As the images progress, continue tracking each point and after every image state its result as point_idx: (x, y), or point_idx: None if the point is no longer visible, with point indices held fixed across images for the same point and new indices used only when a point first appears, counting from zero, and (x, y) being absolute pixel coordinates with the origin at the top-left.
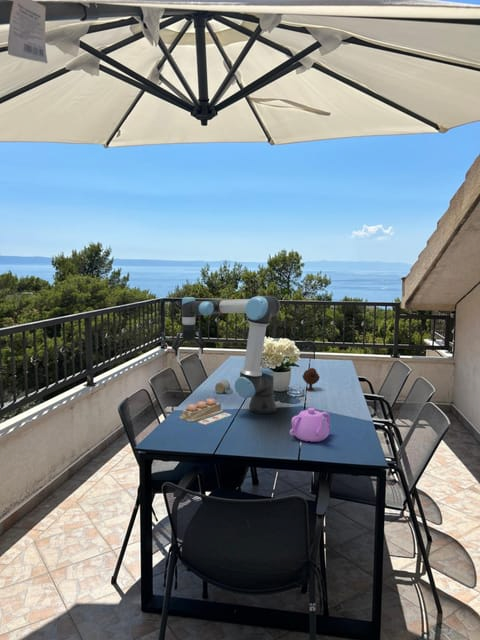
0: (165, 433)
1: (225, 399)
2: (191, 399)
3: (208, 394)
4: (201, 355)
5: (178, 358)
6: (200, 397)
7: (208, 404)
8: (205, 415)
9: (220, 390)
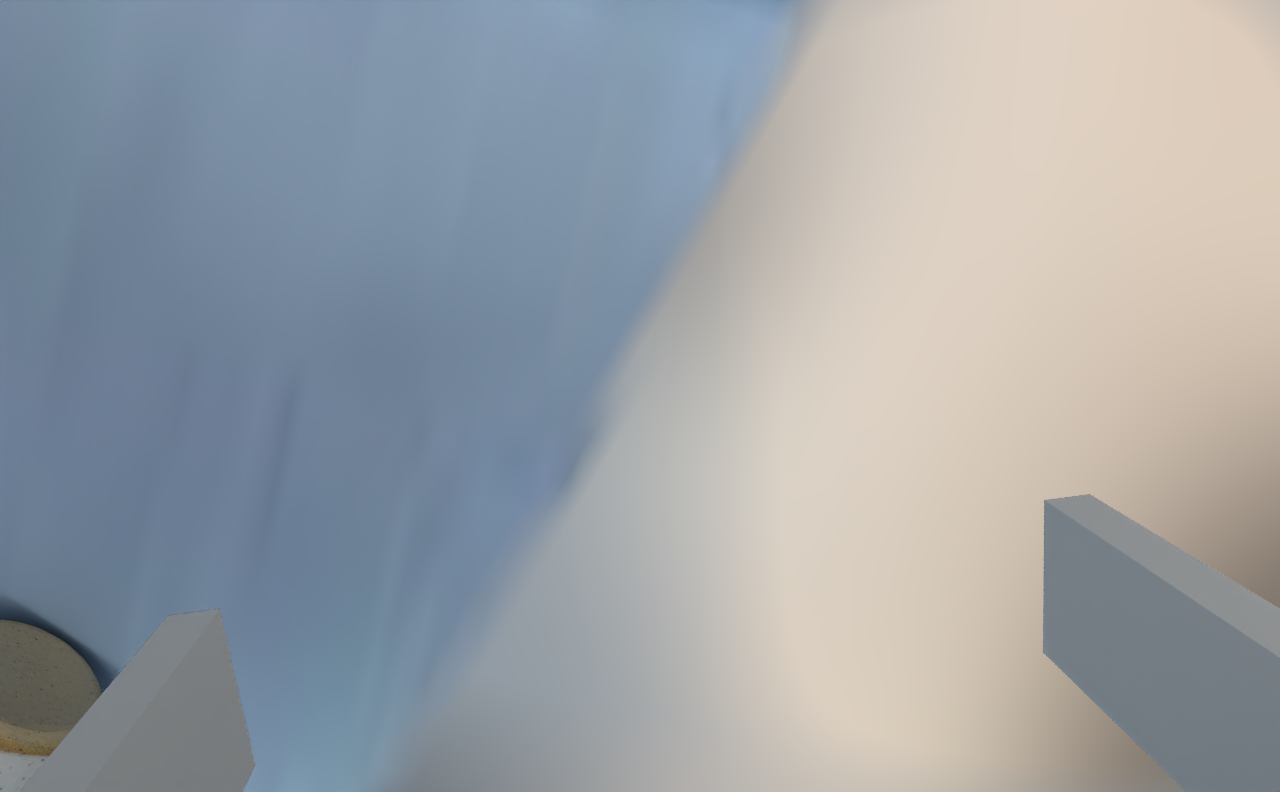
0: None
1: (31, 326)
2: (534, 458)
3: (244, 637)
4: (88, 711)
5: (1138, 542)
6: (388, 521)
7: None
8: None
9: (30, 651)
